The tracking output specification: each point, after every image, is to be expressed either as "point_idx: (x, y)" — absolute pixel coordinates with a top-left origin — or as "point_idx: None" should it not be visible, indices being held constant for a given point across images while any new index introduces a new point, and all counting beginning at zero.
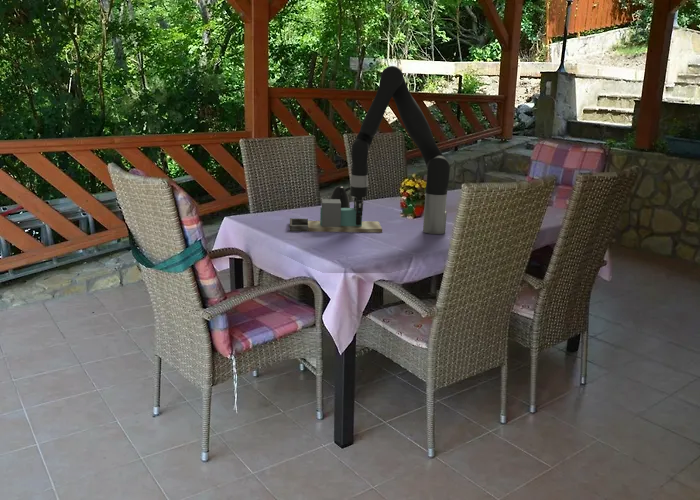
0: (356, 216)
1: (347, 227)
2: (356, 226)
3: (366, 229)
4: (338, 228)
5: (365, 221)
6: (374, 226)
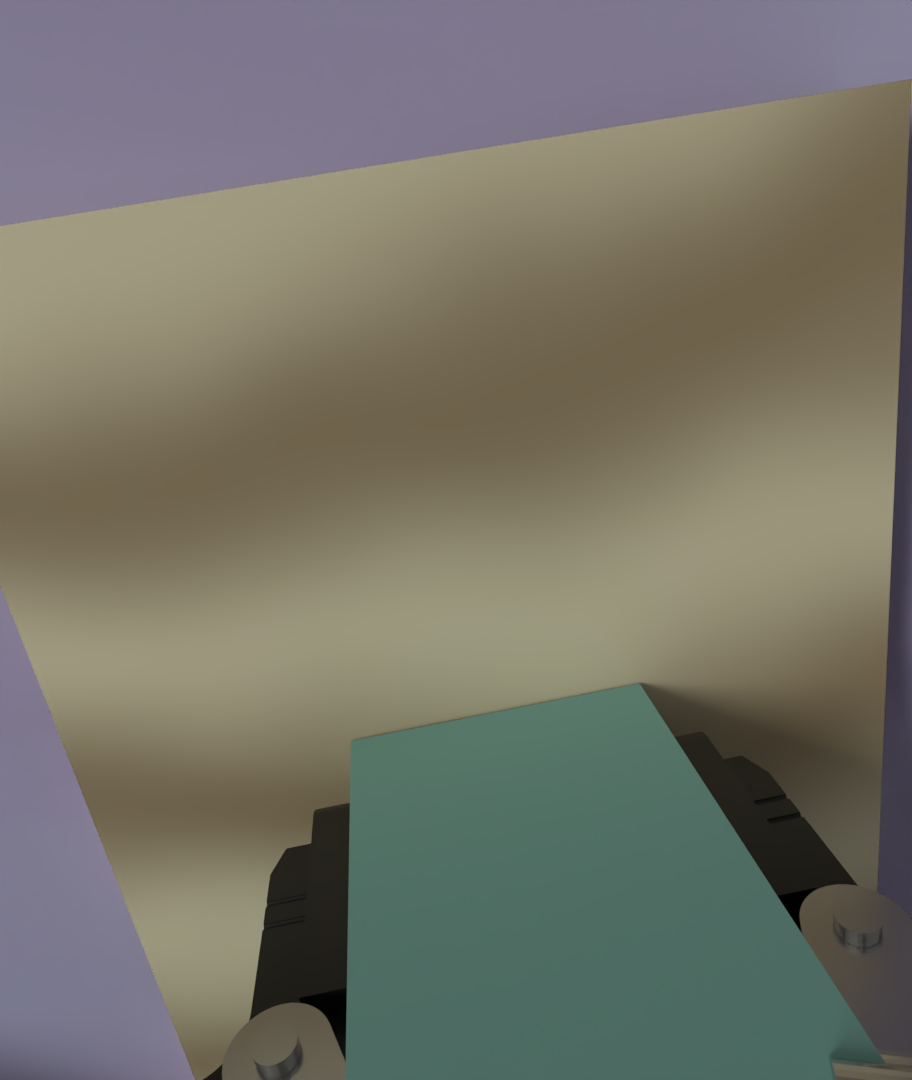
0: None
1: None
2: None
3: (880, 538)
4: None
5: (40, 649)
6: (607, 349)
